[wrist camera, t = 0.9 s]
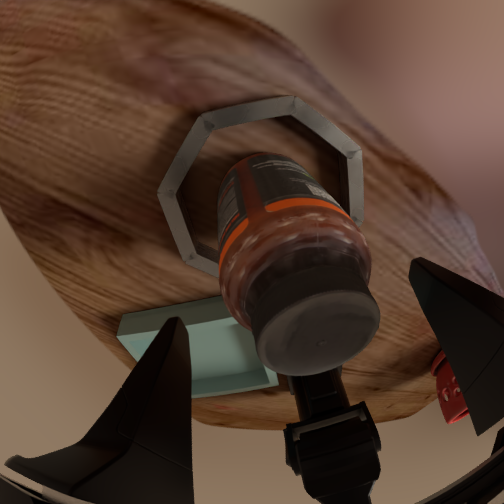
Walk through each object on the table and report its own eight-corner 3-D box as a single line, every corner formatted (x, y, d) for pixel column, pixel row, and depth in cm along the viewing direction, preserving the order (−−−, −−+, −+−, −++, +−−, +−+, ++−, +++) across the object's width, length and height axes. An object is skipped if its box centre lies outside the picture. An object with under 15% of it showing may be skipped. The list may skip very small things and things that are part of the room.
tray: (275, 365, 28) (278, 385, 25) (174, 381, 28) (173, 399, 26) (253, 288, 21) (257, 311, 19) (122, 314, 21) (116, 336, 19)
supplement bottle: (225, 242, 19) (234, 401, 9) (210, 157, 15) (193, 285, 6) (311, 230, 19) (383, 369, 9) (309, 145, 15) (429, 245, 6)
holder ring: (354, 252, 20) (362, 263, 19) (201, 287, 20) (200, 301, 19) (344, 89, 13) (355, 90, 12) (144, 130, 14) (136, 135, 13)
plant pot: (459, 320, 29) (499, 383, 19) (490, 321, 32) (522, 369, 22) (407, 376, 36) (433, 435, 26) (447, 369, 39) (470, 416, 29)
